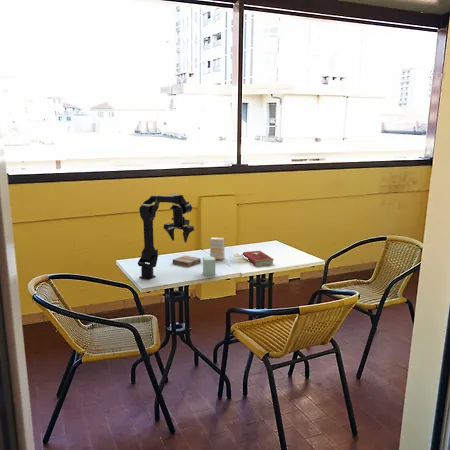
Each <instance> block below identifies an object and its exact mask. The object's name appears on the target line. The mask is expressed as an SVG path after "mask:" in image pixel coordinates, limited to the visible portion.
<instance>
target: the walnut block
mask: <svg viewBox="0 0 450 450" xmlns="http://www.w3.org/2000/svg"><path fill="white" fill-rule="evenodd" d="M201 259H202V258H201V257H194V256H190V255H182V256H180V257H176V258H174V259H172V265H177V266H180V267H186V268H190V267H193V266H195V265H198V264H201V262H202V260H201Z"/></svg>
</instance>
